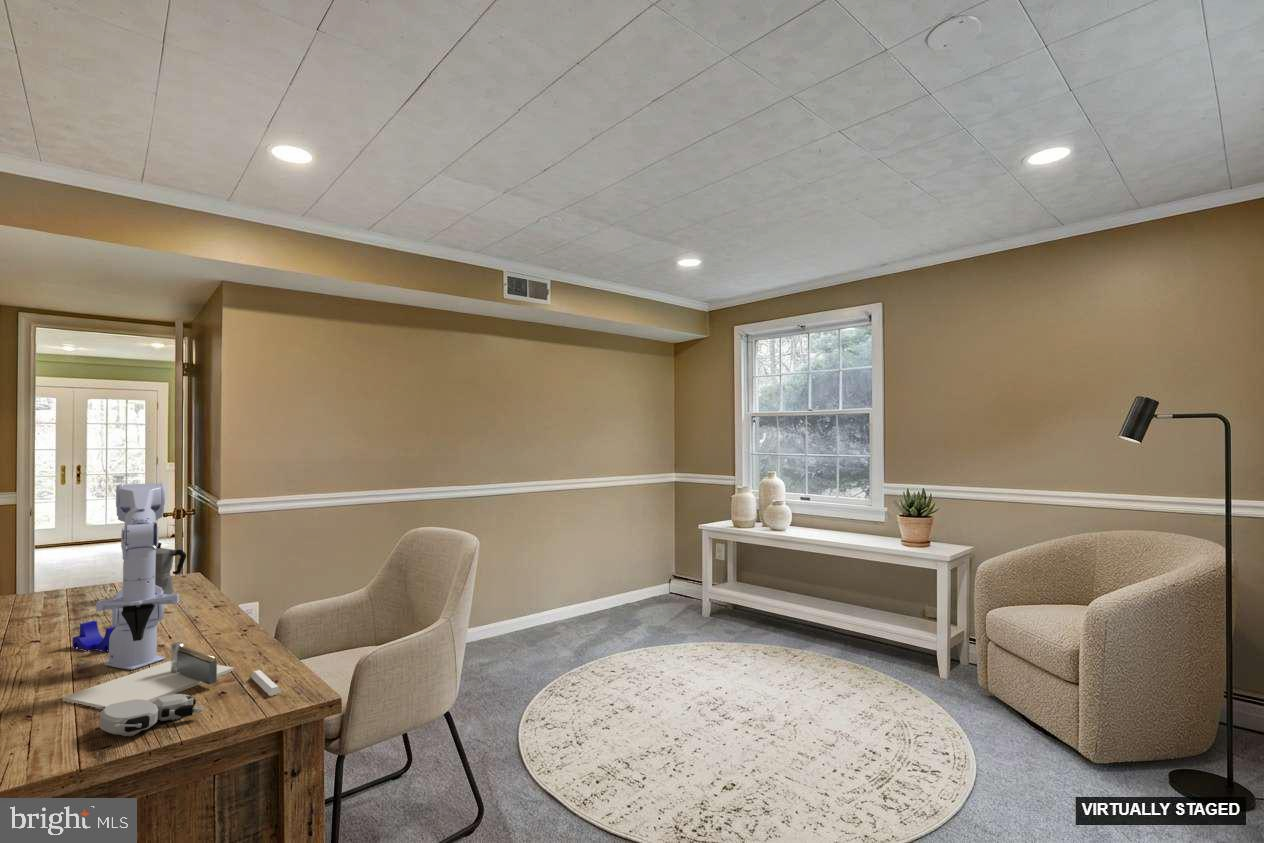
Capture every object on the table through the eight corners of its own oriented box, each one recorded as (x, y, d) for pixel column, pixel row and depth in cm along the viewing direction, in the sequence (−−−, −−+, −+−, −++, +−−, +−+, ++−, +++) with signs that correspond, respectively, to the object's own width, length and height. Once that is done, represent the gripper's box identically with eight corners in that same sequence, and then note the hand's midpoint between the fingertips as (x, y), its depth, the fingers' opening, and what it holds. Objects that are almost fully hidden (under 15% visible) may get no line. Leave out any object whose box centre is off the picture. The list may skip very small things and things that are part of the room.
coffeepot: (126, 600, 208) (127, 545, 208) (146, 593, 217) (147, 540, 217) (176, 599, 209) (177, 545, 209) (193, 592, 218) (194, 540, 219)
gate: (209, 684, 137) (209, 658, 137) (177, 671, 144) (177, 646, 144) (216, 682, 138) (216, 656, 138) (184, 669, 145) (184, 645, 145)
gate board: (62, 701, 131) (62, 697, 131) (178, 661, 153) (178, 658, 153) (122, 714, 125) (122, 709, 125) (233, 670, 148) (233, 667, 148)
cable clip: (72, 649, 162) (73, 625, 162) (92, 643, 166) (93, 620, 167) (102, 655, 158) (103, 630, 158) (122, 649, 162) (122, 625, 162)
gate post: (168, 675, 144) (168, 644, 145) (178, 672, 147) (179, 641, 147) (175, 677, 144) (176, 646, 144) (186, 673, 146) (186, 642, 146)
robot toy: (183, 707, 130) (89, 728, 119) (185, 685, 131) (92, 703, 119) (205, 724, 123) (108, 749, 111) (208, 700, 123) (111, 722, 111)
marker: (253, 679, 145) (276, 699, 134) (244, 676, 144) (266, 696, 133) (260, 668, 146) (283, 687, 135) (251, 665, 145) (273, 684, 134)
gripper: (92, 585, 134) (90, 649, 134) (175, 578, 141) (174, 640, 141) (102, 578, 141) (100, 639, 140) (181, 572, 147) (180, 631, 147)
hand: (138, 639), depth 141 cm, fingers closed
